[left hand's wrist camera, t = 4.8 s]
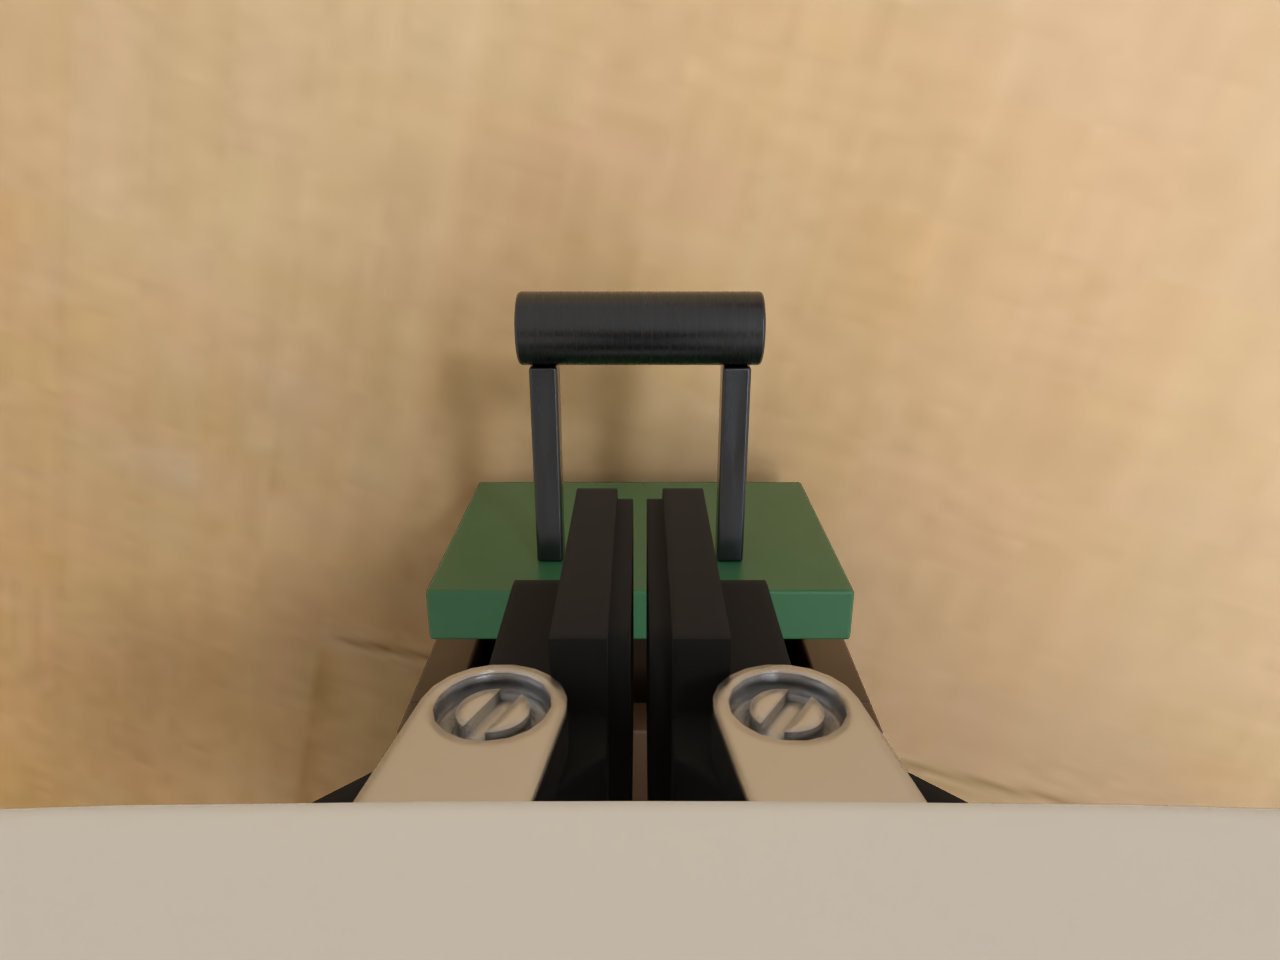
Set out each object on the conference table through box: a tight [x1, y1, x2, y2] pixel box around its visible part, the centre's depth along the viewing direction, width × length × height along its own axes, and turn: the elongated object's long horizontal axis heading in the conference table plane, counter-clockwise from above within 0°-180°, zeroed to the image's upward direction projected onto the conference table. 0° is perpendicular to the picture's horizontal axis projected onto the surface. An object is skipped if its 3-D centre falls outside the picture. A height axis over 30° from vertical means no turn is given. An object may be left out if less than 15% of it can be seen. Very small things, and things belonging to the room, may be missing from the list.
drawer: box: [426, 292, 854, 703], centre depth 24 cm, size 21×9×7 cm, turn 0°
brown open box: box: [398, 639, 883, 801], centre depth 26 cm, size 16×10×9 cm, turn 0°
